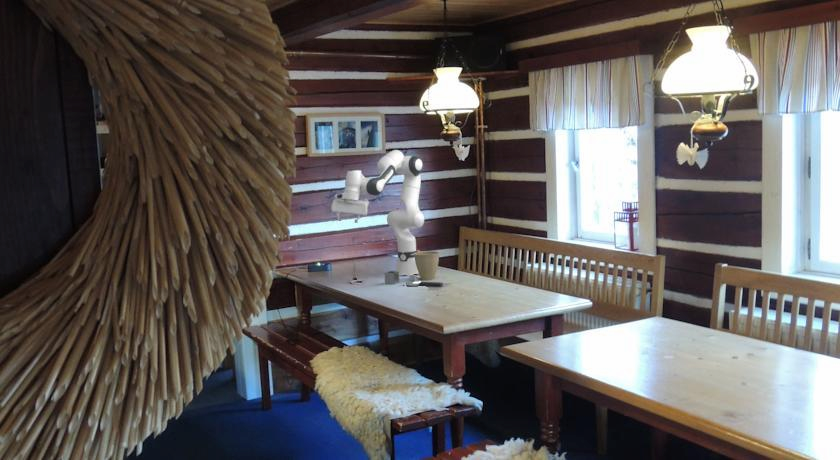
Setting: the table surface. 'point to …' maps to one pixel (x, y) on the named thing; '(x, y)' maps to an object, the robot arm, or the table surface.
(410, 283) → the ratchet
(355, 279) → the tow hook
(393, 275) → the hollow square tube
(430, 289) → the mat
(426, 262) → the plant pot
